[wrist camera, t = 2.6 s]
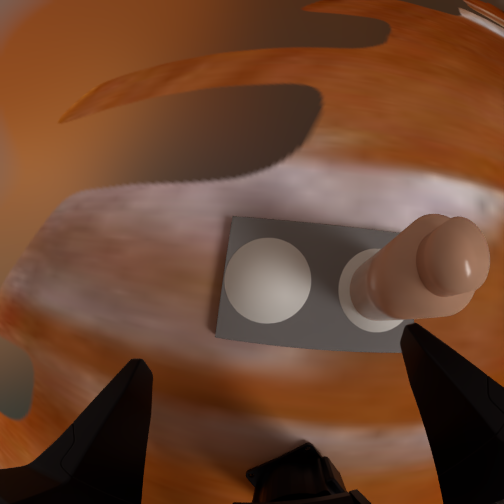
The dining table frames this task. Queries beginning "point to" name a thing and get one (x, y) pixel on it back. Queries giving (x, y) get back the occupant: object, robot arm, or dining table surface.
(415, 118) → the dining table surface
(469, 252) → the light brown tall cylinder
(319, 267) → the slate board
